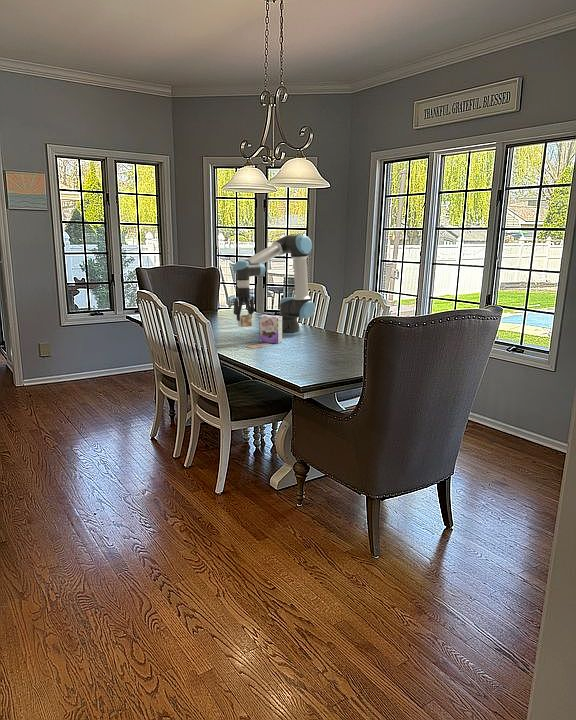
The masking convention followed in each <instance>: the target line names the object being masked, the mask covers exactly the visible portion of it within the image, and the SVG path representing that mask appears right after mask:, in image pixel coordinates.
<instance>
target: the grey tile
mask: <svg viewBox="0 0 576 720" xmlns="http://www.w3.org/2000/svg"><path fill="white" fill-rule="evenodd" d="M256 345H258V346H262V347H261V348H266V347H272V346H273V343H267V342H262V343H257V344H256Z"/></svg>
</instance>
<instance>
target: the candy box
mask: <svg viewBox="0 0 576 720" xmlns="http://www.w3.org/2000/svg"><path fill="white" fill-rule="evenodd" d="M258 332H259V333H258V342H260V343H268V344H277V345H278V344H281V343H283V332H282V316H280V315H268V314H262V315H259V316H258Z"/></svg>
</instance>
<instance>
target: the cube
mask: <svg viewBox="0 0 576 720" xmlns="http://www.w3.org/2000/svg"><path fill="white" fill-rule="evenodd" d="M241 324H242V326H240V327H241V328H246V327H252V325H253V323H252V319H251V316H248V315H247V314H243V315H241Z"/></svg>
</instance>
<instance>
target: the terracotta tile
mask: <svg viewBox="0 0 576 720" xmlns="http://www.w3.org/2000/svg"><path fill="white" fill-rule="evenodd" d="M245 347H246V348H249V349H252V350H254V349H259V348H263V347H262V346H258V345H257V344H251V345H245Z"/></svg>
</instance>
